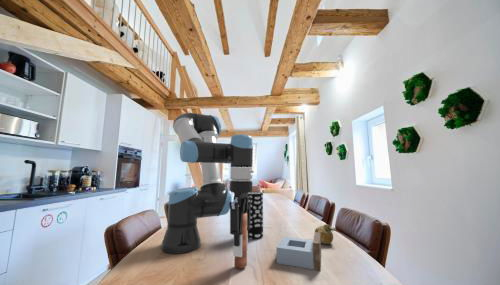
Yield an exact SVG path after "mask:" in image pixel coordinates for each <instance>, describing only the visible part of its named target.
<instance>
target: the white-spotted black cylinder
mask: <svg viewBox="0 0 500 285" xmlns="http://www.w3.org/2000/svg"><path fill="white" fill-rule="evenodd" d="M248 197H251V214H250V226H248V227H251V228H250V230H248V240H256V241H257V240H261V239H263V238H264V193H263V192H260V191H259V192H258V191H252V192H250V193H248Z"/></svg>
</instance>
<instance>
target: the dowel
mask: <svg viewBox="0 0 500 285" xmlns="http://www.w3.org/2000/svg"><path fill="white" fill-rule="evenodd" d="M241 234H242V257H237V256H234V263H233V264H234V265H233V266H234V267H235V268H237V269H243V268H246V267H247V265H248V251H247V213H243V217H242V229H241Z"/></svg>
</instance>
